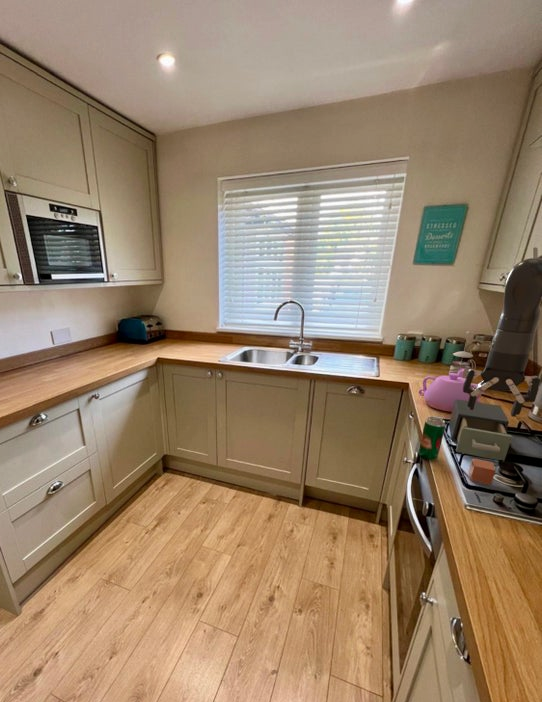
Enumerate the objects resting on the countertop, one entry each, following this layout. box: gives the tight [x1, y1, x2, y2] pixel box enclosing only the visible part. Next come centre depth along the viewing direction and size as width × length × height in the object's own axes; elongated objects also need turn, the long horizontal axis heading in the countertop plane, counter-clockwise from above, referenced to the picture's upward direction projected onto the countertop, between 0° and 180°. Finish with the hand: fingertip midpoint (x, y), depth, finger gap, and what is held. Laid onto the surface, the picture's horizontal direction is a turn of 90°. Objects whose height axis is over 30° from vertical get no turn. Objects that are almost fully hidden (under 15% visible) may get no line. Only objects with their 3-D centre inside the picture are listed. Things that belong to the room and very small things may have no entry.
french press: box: [448, 330, 477, 379], centre depth 158 cm, size 10×12×25 cm
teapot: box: [418, 368, 484, 413], centre depth 132 cm, size 22×22×14 cm
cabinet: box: [448, 399, 510, 443], centre depth 107 cm, size 15×13×10 cm
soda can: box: [417, 416, 447, 461], centre depth 95 cm, size 5×5×12 cm
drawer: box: [455, 417, 513, 462], centre depth 98 cm, size 18×11×8 cm, turn 151°
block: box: [468, 457, 496, 486], centre depth 86 cm, size 4×4×4 cm
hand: (491, 412), depth 84 cm, fingers open, 8 cm apart
